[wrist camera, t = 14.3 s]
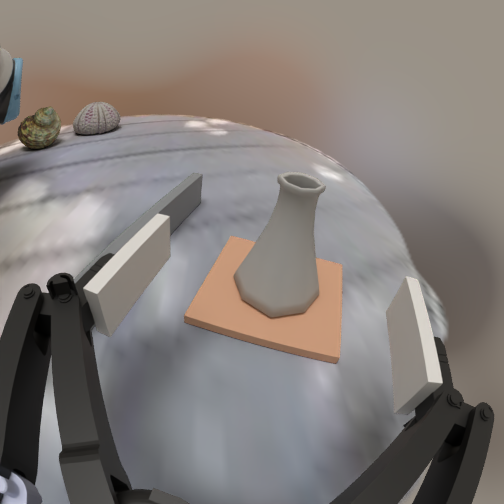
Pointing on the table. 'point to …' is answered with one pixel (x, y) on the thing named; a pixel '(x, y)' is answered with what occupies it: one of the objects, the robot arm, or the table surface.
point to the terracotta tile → (261, 325)
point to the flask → (284, 252)
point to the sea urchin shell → (96, 119)
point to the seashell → (40, 128)
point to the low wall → (171, 205)
